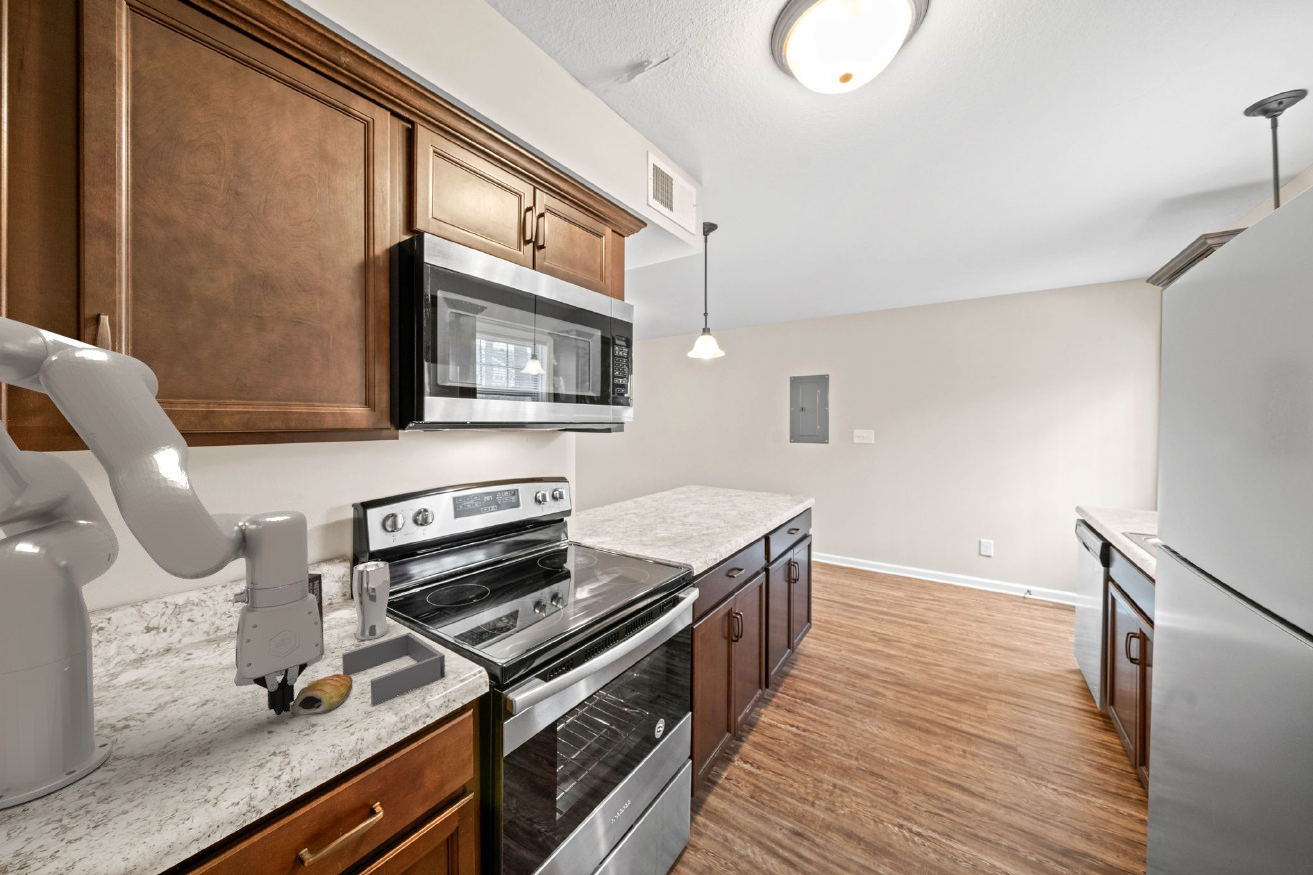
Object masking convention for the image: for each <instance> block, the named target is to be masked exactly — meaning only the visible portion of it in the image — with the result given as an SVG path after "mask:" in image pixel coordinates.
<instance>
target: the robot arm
mask: <svg viewBox="0 0 1313 875" xmlns="http://www.w3.org/2000/svg"><path fill="white" fill-rule="evenodd" d="M0 383H4V384H7V385H12V386H16V387H20V388H23V389H28V390H31V391H34V392H39V393H42V394H45V395H47V396H48V397H49V398H50V400H51V401H52V402H53V403H54V404H55V406H56V408H57V409H58V410H59V411H60V413H61V414H62V415H63V416H64V418H65V419H66V421H67V422H68V423H69V424H70V425H71V427H72V428H73V430H75V432H76V433H77V435H79V437H80V439H82V441H83V442H84V444H85V445H86V446H87V447H88V448H89V450H90V452H91V453H92V455H94V457H95V458H96V459H97V461H98V462H99V463H100V465H101V466H102V467H103V469H104V470H105V472H106V474H107V477H108V482H109V487H110V489H111V492H112V494H113V497H114V501H115V503H116V505H117V507H118V510H119V513H120V515H121V517H122V520H123V522H124V523H125V525H126V527H127V528H128V529H129V531H130V532H131V534H132V535H133V537H134V539H135V540H137V542H138V543H139V544H140V545H141V547H142V548H143V550H144V551H145V552H146V553H147V554H148V556H149V557H150V558H151V559H152V561H153V562H154V563H155V564H156V565H157V566H158V567H159V568H160V569H162V570H163V571H164V572H166V573H167V574H169V575H171V576H173V577H176V578H179V579H185V580H198V579H204V578H207V577H210V576H213V575H215V574H216V573H217V574H218V572H220V571H221V570H223V569H224V568H226V567H227V566H228V565H229V564H230V563H232V562H234V561H237V560H238V559H244V561H245V583H246V584H245V586H244V589H242V590H243V591H240V593H235V594H233V595H232V596H233V598H232V599H233V603H234V604H239V603H241V604H243V603H244V604H245V605H244V606H242V607H241V610H240V613H239V618H238V621H237V629H236V640H235V666H236V673H235V676H234V680H233V683H234V684H235V686H236V687H246V686H253V685H257V686H259V687H262V688H263V689H267V708H268V710H269V711H272V710H273V711H274V714H275V715H276V716H280V715H282V714H283V713H289V712H291V703H292V704H293V702H294V700H295V684H296V683H297V681H298V679H299V677H300V676H301V675H302V674H303V672H304V671H305V670H306V669H307V668H309V667H311V666H313V665H315V664H316V663H318V662H321V661H322V659H323V654H321V653H322V647H323V646H322V633H321V623H320V616H319V610H318V605H317V601H316V598H315V595H313V594H311V593H309V588H308V573H309V557H308V522H307V521H308V520H307V517H306V516H305V514H304V513H302V512H300V511H295V510H280V511H278V510H277V511H269V512H263V513H258V514H252V513H248V514H247V513H245V514H244V513H227V512H226V513H225V512H223V513H222V512H221V513H212V514H210V513H209V510H207V508H206V507H205V506H204V504H203V503H202V501H201V500H200V498H199V496H198V495H197V493H196V491H195V489H194V487H193V485H192V482H191V480H190V476H189V471H188V461H189V447H188V444H187V442H186V440H185V439H184V437H183V436H182V434H181V433H180V431H179V430H178V429H177V427H176V426H175V424H174V423H173V421H172V420H171V419H170V418H169V416H168V415H167V414H166V412H165V410H164V409H163V408H162V407H161V405H160V403H159V401H157V399H156V396H157V395H158V392H159V380H158V378H157V376H156V374H155V372H154V371H153V370H152V369H151V368H150V366H148V365H147V364H146V363H145V362H143V361H141V360H140V359H137V358H136V357H133V356H130V355H128V354H124V353H120V352H116V351H113V350H109V349H105V348H101V347H98V346H95V345H92V344H88V343H86V342H83V341H80V340H77V339H73V338H70V337H68V336H67V337H66V336H64V335H61V334H58V333H56V332H52V331H48V330H46V329H43V328H40V327H36V326H33V325H30V324H27V323H23V322H21V321H17V320H14V319H10V318H7V317H3V316H0ZM0 529H1V531H2V532H3V534H4V535H5V536H6V537H4V538H1V539H0V810H2V809H6V808H10V807H13V806H16V805H17V806H18V805H20V804H23V803H28V802H29V801H32V800H35V799H38V798H40V797H43V796H45V795H49V794H50V793H53V792H56V791H57V790H60V789H62V788H65V787H66V786H68V785H70V784H72V783H75V782H77V781H78V780H80V779H82V778H84V777H85V776H87V775H88V774H90V773H91V772H93V771H94V770H96V769H97V768H98V767H99V766H101V765H102V764H104V762H105V761H106V760H107V759H108V758H109V757H110V755H111V754H112V752H113V742H112V740H111V739H110V738H108V737H104V736H100V735H99V736H97V735H95V732H96V731H95V708H94V707H95V703H94V702H95V701H94V699H95V697H94V672H93V671H94V669H93V668H94V665H93V662H94V661H93V660H94V659H93V643H92V625H91V617H90V612H89V610H88V607H87V603H86V600H85V598H84V594H83V587H84V586H86V585H89V583H91V582H93V581H95V580H97V579H98V578H100V577H101V576H104V574H105V573H106V572H108V571H109V570H110V569H111V567H112V566H113V565H114V564H115V563H116V561H117V558H118V555H119V551H120V550H119V549H120V548H119V546H120V545H119V541H118V538H117V535H116V533H115V531H114V529H113V527H112V525H111V523H110V522H109V521H108V518H107V517H106V515H105V514H104V512H103V510H102V508H101V507H100V505H99V503H98V502H97V500H96V498H95V497H94V495H93V493H92V491H91V490H90V488H89V486H88V485H87V483H86V481H85V480H84V478H83V477H82V475H81V474H80V473H79V472H78V470H77V469H75V467H73V466H72V465H71V464H70V463H69V462H67V461H65V460H64V459H61V458H60V457H58V456H55V455H52V454H50V453H46V452H42V451H34V450H20V449H19V447H18V446H17V444H16V443H15V441H14V440H13V439H12V437H11V435H9V433H8V431H7V430H6V429H5V426H4V424H3V421H2V420H1V419H0ZM282 670H284V674H283V676H282V677H281V680H280V682H279V680H278V679H277V675H276V674H275V673H276V672H279V671H282Z"/></svg>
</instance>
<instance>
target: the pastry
mask: <svg viewBox="0 0 1313 875" xmlns="http://www.w3.org/2000/svg"><path fill="white" fill-rule="evenodd" d="M353 681H354V680H353V678H352V676H351V675H343V673H335V674H331V675H328V676H325V677H322V678H320V679H317V680H315V681H311V682H309V683H308V685H307V686H305V687H302V688H301V689H300V690H299V691H298V693H297V695H296V698H294V702H292V704H290V712H292V713H293V714H294V715H296V716H304V715H305V716H306V715H307V716H308V715H312V714H322V713H326V712H330V711H333V710H334V709H336V708H337V707H339V705H340V704H341V703H342V702H344V701H345V700H346V698H347V697H348V695H349V693H350V692H351V690H352V688H353Z"/></svg>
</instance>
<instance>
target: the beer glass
mask: <svg viewBox="0 0 1313 875" xmlns="http://www.w3.org/2000/svg"><path fill="white" fill-rule="evenodd" d="M352 573H353V575H352V596H353V601H354V606H355V610H356V616H357V627H356V633H355V638H356V639H357V640H360V641H369V640H370V641H371V640H374V639H379V638H382V637H384V636H385V635H387V634H388V633H389V626H388V622H387V608H388V602H389V596H390V589H391V585H390V584H391V578H390V577H391V575H390V568H389V562H387V561H379V560H378V561H370V562H369V561H368V562H364V563H360V564H357V565H355V566H354V567H353V572H352Z"/></svg>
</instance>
